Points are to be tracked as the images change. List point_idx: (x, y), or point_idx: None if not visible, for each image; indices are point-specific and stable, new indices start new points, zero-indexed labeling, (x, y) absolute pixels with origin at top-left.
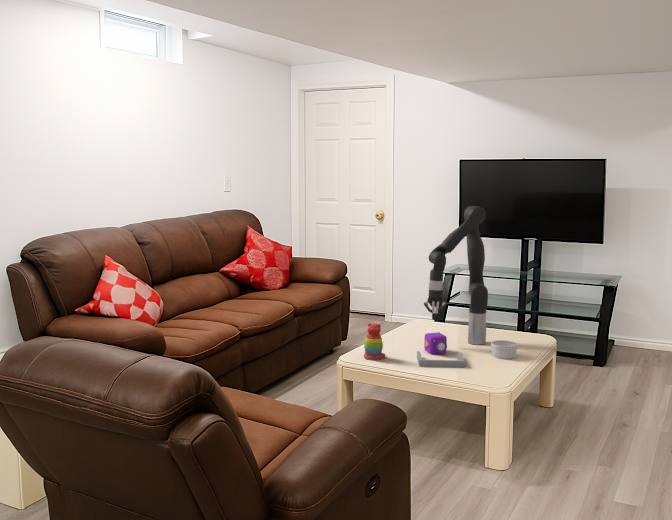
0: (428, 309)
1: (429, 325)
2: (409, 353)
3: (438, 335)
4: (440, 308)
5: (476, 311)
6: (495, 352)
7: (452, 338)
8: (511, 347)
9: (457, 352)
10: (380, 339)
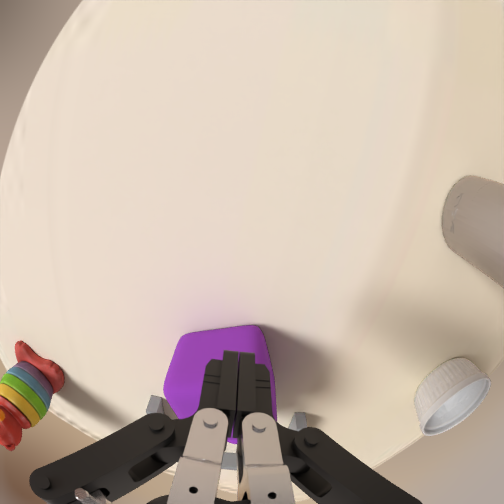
0: (135, 467)
1: None
2: (123, 359)
3: (232, 434)
4: (322, 474)
5: None
6: (416, 411)
7: (398, 103)
8: (447, 428)
9: (296, 430)
10: (34, 425)
